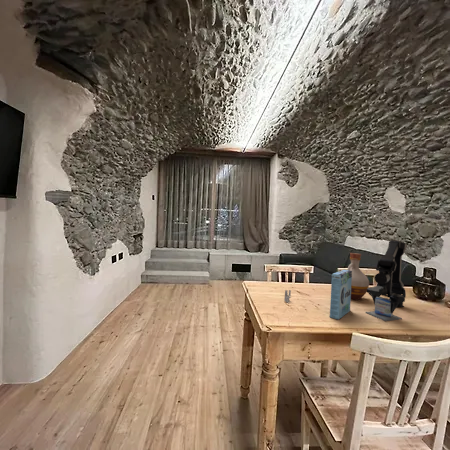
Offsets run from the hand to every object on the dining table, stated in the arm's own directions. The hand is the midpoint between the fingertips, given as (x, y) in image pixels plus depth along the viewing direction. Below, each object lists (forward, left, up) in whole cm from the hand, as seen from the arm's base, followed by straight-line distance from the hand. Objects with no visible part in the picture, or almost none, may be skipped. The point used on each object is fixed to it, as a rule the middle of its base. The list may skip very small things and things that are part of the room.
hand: (383, 310), depth 143 cm
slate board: (0, 0, -3) cm, 3 cm away
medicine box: (0, 0, -3) cm, 2 cm away
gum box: (-8, -22, -4) cm, 24 cm away
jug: (-30, +9, -4) cm, 31 cm away
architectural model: (-30, -34, -4) cm, 46 cm away
